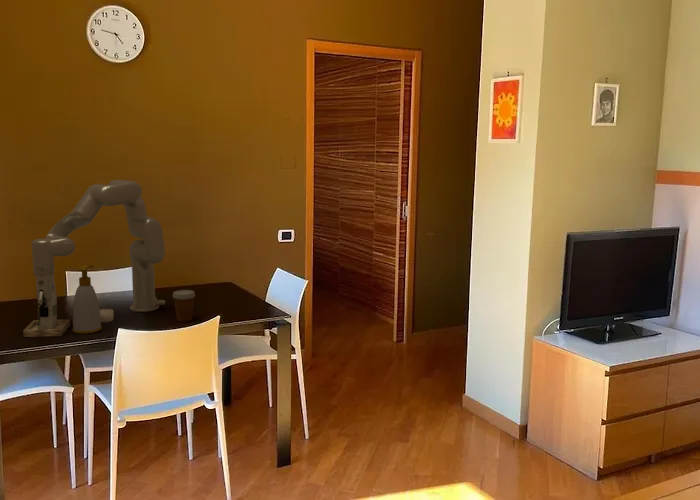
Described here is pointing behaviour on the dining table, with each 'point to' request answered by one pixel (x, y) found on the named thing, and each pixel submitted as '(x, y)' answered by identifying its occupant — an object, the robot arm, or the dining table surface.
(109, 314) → the cream dome
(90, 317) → the soap bottle
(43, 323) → the syrup box
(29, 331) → the tray
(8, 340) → the dining table surface
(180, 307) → the disposable coffee cup
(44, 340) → the dining table surface
